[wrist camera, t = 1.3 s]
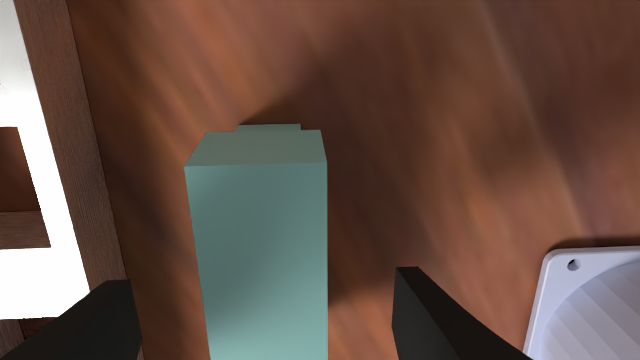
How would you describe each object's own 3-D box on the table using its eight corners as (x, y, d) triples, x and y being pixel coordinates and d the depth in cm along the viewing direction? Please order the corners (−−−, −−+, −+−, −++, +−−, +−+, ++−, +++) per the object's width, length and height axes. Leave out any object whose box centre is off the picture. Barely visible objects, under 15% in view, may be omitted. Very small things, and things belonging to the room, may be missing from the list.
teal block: (315, 108, 14) (327, 162, 9) (318, 330, 17) (327, 451, 13) (220, 110, 14) (183, 166, 9) (243, 334, 17) (224, 457, 13)
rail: (25, -189, 11) (-51, -242, 8) (167, 467, 20) (151, 528, 18) (-192, -192, 10) (-332, -247, 8) (55, 474, 20) (23, 538, 17)
